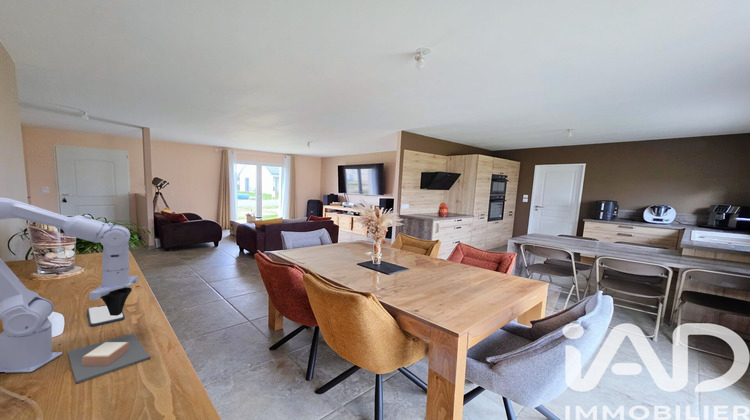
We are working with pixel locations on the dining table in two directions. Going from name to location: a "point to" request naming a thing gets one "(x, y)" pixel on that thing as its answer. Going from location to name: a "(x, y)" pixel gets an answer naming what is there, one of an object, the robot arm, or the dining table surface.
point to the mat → (127, 359)
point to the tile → (105, 354)
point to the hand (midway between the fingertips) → (115, 314)
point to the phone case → (102, 316)
